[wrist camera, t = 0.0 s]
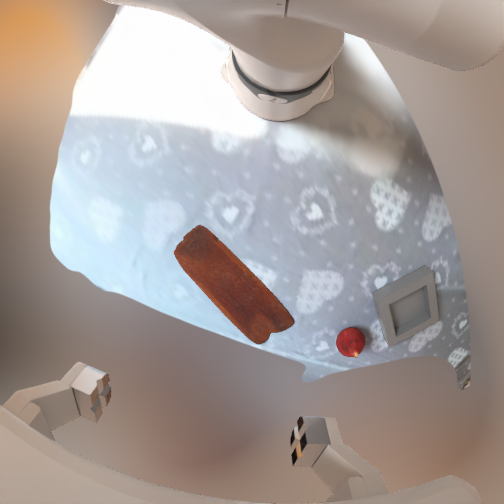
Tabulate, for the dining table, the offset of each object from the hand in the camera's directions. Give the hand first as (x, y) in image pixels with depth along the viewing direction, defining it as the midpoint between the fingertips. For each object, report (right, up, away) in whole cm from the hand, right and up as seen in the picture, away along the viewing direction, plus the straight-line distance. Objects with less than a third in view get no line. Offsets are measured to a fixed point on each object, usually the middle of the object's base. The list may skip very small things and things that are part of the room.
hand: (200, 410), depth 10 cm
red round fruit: (+22, -10, +44) cm, 50 cm away
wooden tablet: (-1, 0, +42) cm, 42 cm away
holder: (+34, -4, +41) cm, 54 cm away
